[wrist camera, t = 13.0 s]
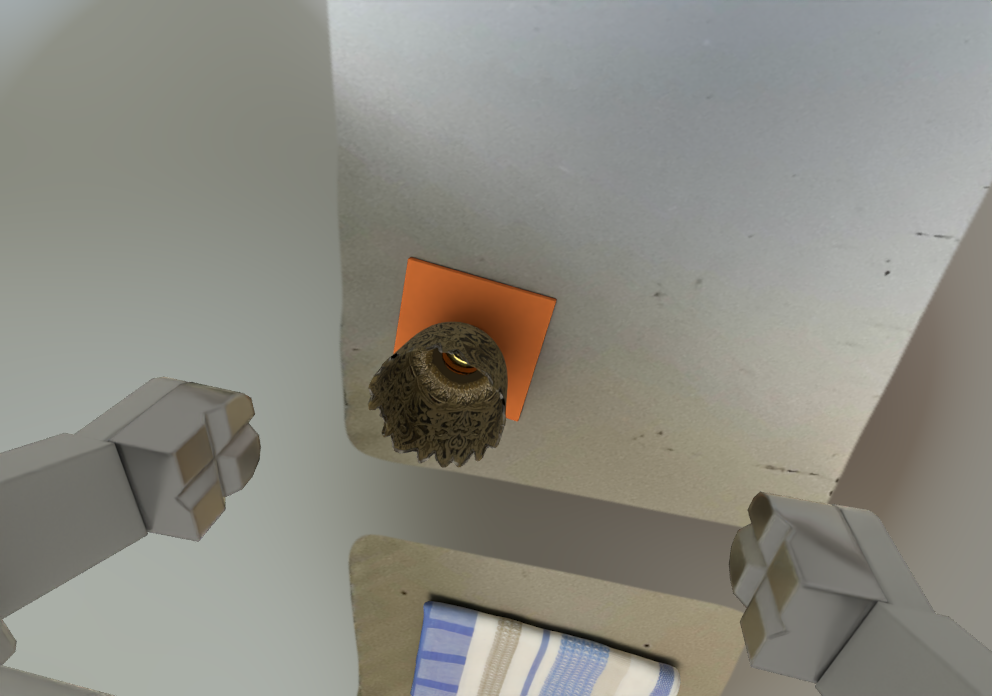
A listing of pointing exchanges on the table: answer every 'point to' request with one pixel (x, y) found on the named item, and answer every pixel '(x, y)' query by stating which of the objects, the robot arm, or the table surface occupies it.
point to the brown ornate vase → (443, 394)
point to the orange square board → (479, 317)
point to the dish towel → (525, 660)
